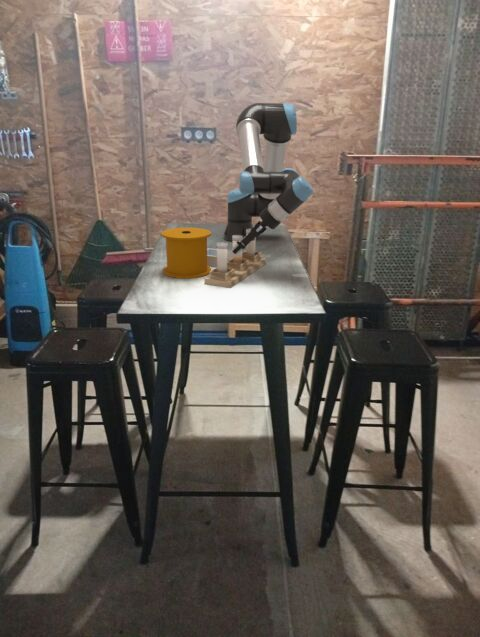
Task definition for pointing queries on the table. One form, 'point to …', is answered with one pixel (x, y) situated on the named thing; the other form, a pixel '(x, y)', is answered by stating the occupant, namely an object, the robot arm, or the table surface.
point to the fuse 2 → (250, 245)
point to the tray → (212, 257)
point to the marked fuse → (235, 238)
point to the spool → (186, 252)
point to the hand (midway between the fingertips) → (232, 253)
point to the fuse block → (236, 271)
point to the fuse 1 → (222, 257)
